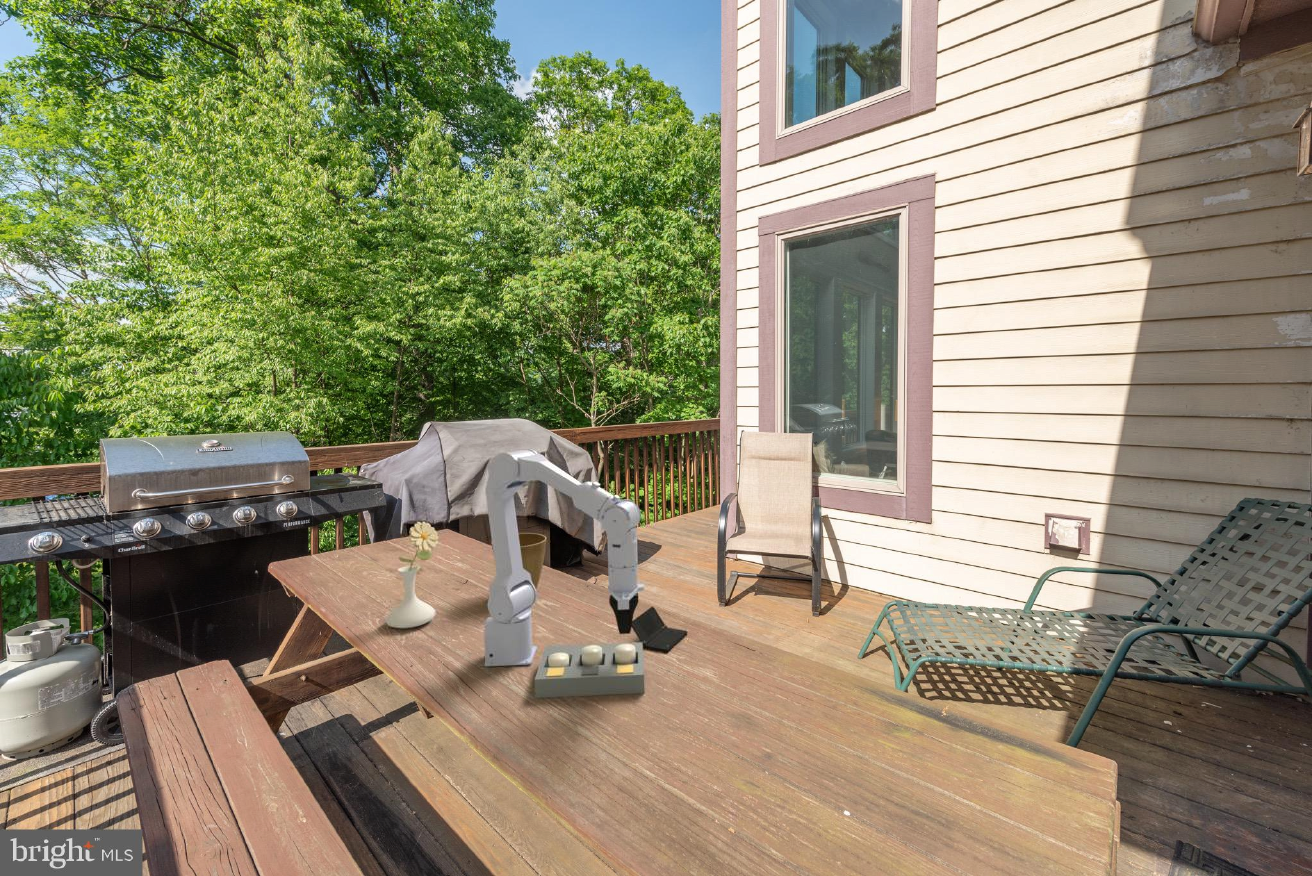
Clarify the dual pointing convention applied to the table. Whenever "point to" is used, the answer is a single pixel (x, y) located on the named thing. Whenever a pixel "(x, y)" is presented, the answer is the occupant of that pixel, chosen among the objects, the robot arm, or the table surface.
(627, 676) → the button board
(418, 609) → the flower in vase
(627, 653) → the button right
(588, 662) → the button middle
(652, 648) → the handheld gaming console
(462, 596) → the table surface
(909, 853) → the table surface
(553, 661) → the button left
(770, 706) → the table surface
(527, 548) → the plant pot
